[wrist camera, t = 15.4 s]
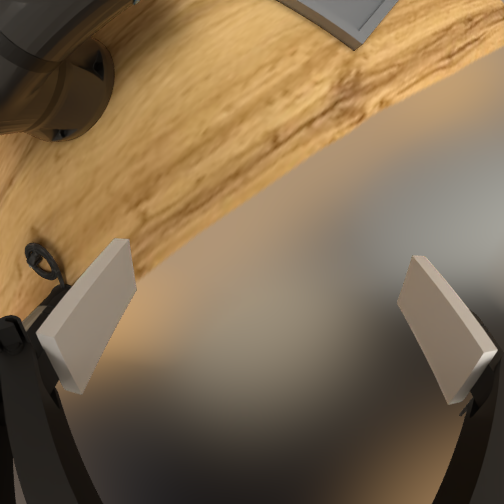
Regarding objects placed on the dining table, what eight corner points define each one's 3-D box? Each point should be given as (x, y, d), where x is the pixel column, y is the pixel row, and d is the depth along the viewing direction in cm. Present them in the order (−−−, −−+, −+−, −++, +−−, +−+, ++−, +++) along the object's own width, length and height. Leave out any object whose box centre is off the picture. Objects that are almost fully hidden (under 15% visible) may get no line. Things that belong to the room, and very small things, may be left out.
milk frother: (86, 340, 46) (47, 398, 32) (21, 289, 43) (-29, 333, 29) (112, 284, 42) (63, 344, 28) (36, 226, 38) (-28, 264, 25)
